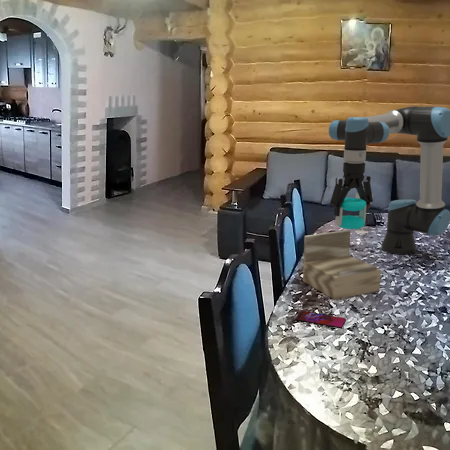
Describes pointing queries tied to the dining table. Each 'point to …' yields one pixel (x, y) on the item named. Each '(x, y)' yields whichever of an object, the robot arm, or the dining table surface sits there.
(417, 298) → the dining table surface
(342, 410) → the dining table surface
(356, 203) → the donuts
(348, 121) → the robot arm
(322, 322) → the smartphone
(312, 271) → the display stand
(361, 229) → the wineglass
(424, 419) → the dining table surface
